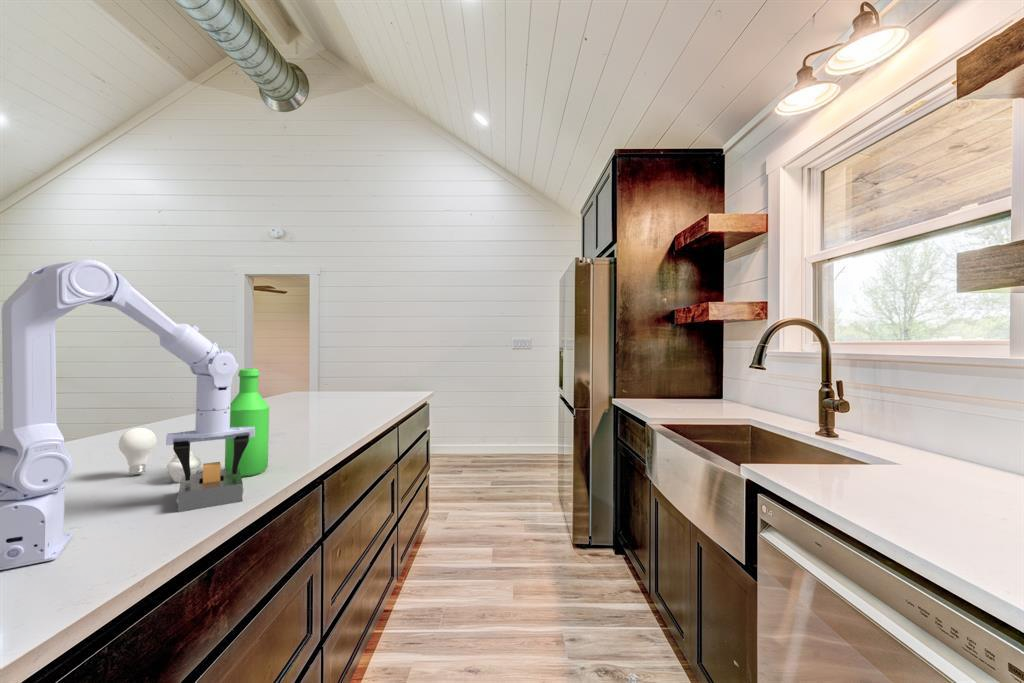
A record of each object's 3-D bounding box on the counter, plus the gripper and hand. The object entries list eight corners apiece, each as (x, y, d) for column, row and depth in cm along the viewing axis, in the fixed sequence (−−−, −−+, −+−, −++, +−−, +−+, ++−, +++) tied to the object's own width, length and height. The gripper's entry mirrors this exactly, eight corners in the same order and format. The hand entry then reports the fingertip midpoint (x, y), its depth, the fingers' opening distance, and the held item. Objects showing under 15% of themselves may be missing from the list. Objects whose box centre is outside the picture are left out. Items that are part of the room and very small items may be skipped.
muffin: (180, 485, 92) (181, 453, 92) (159, 482, 93) (159, 451, 93) (207, 477, 98) (208, 447, 98) (187, 474, 99) (187, 445, 99)
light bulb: (124, 472, 100) (125, 426, 100) (159, 469, 103) (160, 424, 103) (112, 481, 94) (113, 431, 94) (150, 477, 97) (151, 429, 97)
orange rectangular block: (219, 490, 87) (220, 461, 87) (219, 494, 85) (220, 464, 85) (202, 493, 86) (203, 463, 86) (202, 497, 83) (203, 466, 83)
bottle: (216, 474, 100) (219, 368, 100) (253, 465, 107) (256, 367, 108) (238, 480, 96) (241, 370, 96) (275, 470, 103) (277, 369, 104)
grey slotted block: (245, 500, 84) (245, 482, 84) (174, 512, 77) (174, 492, 77) (240, 478, 97) (240, 462, 97) (179, 486, 91) (180, 469, 91)
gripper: (253, 404, 93) (252, 465, 93) (169, 408, 84) (167, 476, 84) (256, 408, 87) (254, 474, 87) (166, 413, 79) (164, 486, 79)
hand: (211, 476), depth 85 cm, fingers open, 7 cm apart
